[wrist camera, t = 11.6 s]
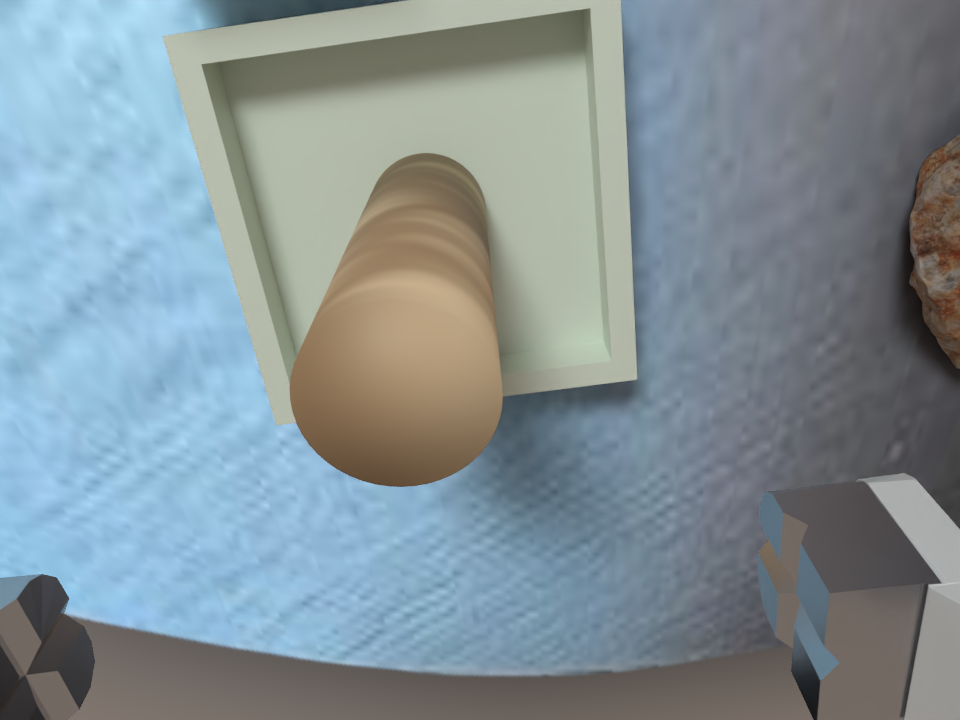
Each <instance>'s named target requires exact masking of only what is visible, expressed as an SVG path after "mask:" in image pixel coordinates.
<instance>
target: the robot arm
mask: <svg viewBox="0 0 960 720" xmlns="http://www.w3.org/2000/svg"><path fill="white" fill-rule="evenodd" d="M759 521H760V523H761V525H762V527H763V529H764V531H765V533H766V535H767V537H768V539H769V540H768V541H767V542H766V544H765V545H764V546H763V547H762V548H761V549H760V551H759V552H758V578H759V585H760V591H761V597H762V602H763V605H764V608H765V611H766V614H767V618H768V620H769V622H770V625H771V627H772V629H773V632H774V634H775V636H776V638H778V639H779V640H781V641H782V642H783V643H785V644H786V645H788V646H789V647H791V648H793V652H792V668H791V672H792V674H793V676H794V678H795V680H796V682H797V685H798V687H799V689H800V691H801V693H802V695H803V698H804V700H805V702H806V704H807V706H808V709H809V711H810V713H811V715H812V717H813V719H814V720H960V529H959V528H958V527H957V525H956V524H955V523H954V522H953V521H952V520H951V519H950V518H949V516H948V515H947V514H946V513H945V512H944V511H943V510H942V508H941V507H940V506H939V505H938V504H937V503H936V502H935V501H934V499H933V498H932V497H931V496H930V495H929V494H928V493H927V491H926V490H925V489H924V488H923V487H922V486H921V485H920V483H919V482H918V481H917V480H916V479H915V478H914V477H912V476H910V475H907V474H905V473H901V474H894V475H887V476H879V477H872V478H865V479H858V480H857V481H851V482H843V483H834V484H826V485H818V486H809V487H801V488H793V489H784V490H776V491H768V492H764V493H763V496H762V499H761V502H760V518H759ZM68 601H69V597H68V596H67V594H66V592H65V591H64V589H63V587H62V586H61V584H60V582H59V580H58V579H57V578H56V577H52V576H48V575H44V574H38V575H27V576H16V577H5V578H0V720H68V719H69V718H70V717H71V716H72V715H73V714H74V713H76V712H77V711H78V710H79V709H80V707H81V705H82V703H83V701H84V699H85V697H86V695H87V693H88V691H89V689H90V687H91V681H92V676H93V669H94V663H95V660H94V654H93V647H92V642H91V640H90V638H89V636H88V634H87V632H86V630H85V628H84V626H82V625H81V624H79V623H78V622H76V621H75V620H73V619H71V618H70V617H68V616H67V615H65V614H64V612H65V609H66V606H67V603H68Z"/></svg>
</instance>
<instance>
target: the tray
mask: <svg viewBox="0 0 960 720" xmlns="http://www.w3.org/2000/svg"><path fill="white" fill-rule="evenodd" d="M163 40H164V43H165V46H166V50H167V53H168V57H169V60H170V63H171V67H172V70H173V74H174V77H175V81H176V84H177V87H178V91H179V94H180V98H181V101H182V105H183V108H184V111H185V115H186V118H187V122H188V125H189V128H190V132H191V135H192V139H193V142H194V146H195V149H196V152H197V156H198V159H199V163H200V166H201V169H202V173H203V176H204V180H205V183H206V187H207V190H208V193H209V197H210V200H211V204H212V207H213V210H214V214H215V217H216V221H217V224H218V228H219V231H220V234H221V238H222V241H223V245H224V248H225V251H226V255H227V258H228V262H229V265H230V269H231V272H232V275H233V279H234V282H235V286H236V289H237V292H238V296H239V299H240V303H241V306H242V310H243V313H244V316H245V320H246V323H247V327H248V330H249V333H250V337H251V340H252V344H253V347H254V351H255V354H256V357H257V361H258V364H259V368H260V371H261V374H262V378H263V381H264V385H265V388H266V392H267V395H268V398H269V402H270V405H271V409H272V412H273V415H274V419H275V422H276V425H282V424H290V423H296V420H295V418H294V415H293V412H292V407H291V402H290V378H291V373H292V369H293V365H294V362H295V360H296V357H297V355H298V353H299V351H300V348H301V346H302V344H303V342H304V340H305V337H306V335H307V333H308V331H309V329H310V326H311V324H312V322H313V320H314V318H315V315H316V313H317V311H318V309H319V307H320V305H321V302H322V300H323V298H324V296H325V294H326V291H327V289H328V287H329V285H330V283H331V280H332V278H333V276H334V274H335V272H336V269H337V267H338V265H339V263H340V261H341V259H342V256H343V254H344V252H345V250H346V248H347V245H348V243H349V241H350V239H351V237H352V234H353V232H354V230H355V228H356V226H357V223H358V221H359V219H360V217H361V215H362V212H363V210H364V208H365V206H366V204H367V202H368V199H369V197H370V195H371V193H372V191H373V188H374V186H375V184H376V182H377V180H378V179H379V177H380V176H381V175H382V173H383V172H384V171H385V170H386V169H387V168H388V167H389V166H390V165H392V164H393V163H395V162H396V161H398V160H400V159H402V158H404V157H407V156H409V155H413V154H418V153H434V154H439V155H443V156H446V157H449V158H451V159H453V160H455V161H457V162H458V163H460V164H461V165H463V166H464V167H465V168H466V169H467V170H468V171H469V172H470V173H471V174H472V175H473V176H474V178H475V179H476V181H477V182H478V184H479V186H480V188H481V190H482V193H483V196H484V201H485V209H486V219H487V230H488V241H489V251H490V262H491V273H492V283H493V294H494V305H495V315H496V326H497V337H498V347H499V358H500V369H501V380H502V393H503V397H504V396H512V395H519V394H527V393H535V392H543V391H551V390H559V389H567V388H575V387H583V386H591V385H599V384H607V383H615V382H622V381H630V380H637V363H636V340H635V317H634V294H633V271H632V248H631V225H630V202H629V179H628V156H627V133H626V110H625V87H624V64H623V41H622V18H621V0H403V1H396V2H389V3H382V4H375V5H368V6H362V7H355V8H348V9H341V10H334V11H327V12H320V13H314V14H307V15H300V16H293V17H286V18H279V19H273V20H266V21H259V22H252V23H245V24H238V25H231V26H225V27H218V28H211V29H204V30H197V31H190V32H185V33H179V34H173V35H167V36H163Z"/></svg>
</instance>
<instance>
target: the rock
mask: <svg viewBox="0 0 960 720" xmlns="http://www.w3.org/2000/svg"><path fill="white" fill-rule="evenodd" d="M916 194H917V195H916V201H915V205H914V207H913V210H912V212H911V215H910V221H909V233H910V239H911V245H910V251H911V253H912V255H913V258H914V261H915V263H914V267H913V271H912V273H911V276H910V281H909V283H910V285H911V286H912V287H913V288H915V289H916V292H917V294H918V296H919V298H920V299H921V301H922V312H923V318H924V322H925V323H926V324H927V326H928V327H929V328H930V330H931V332H932V333H933V334H934V335H935V336H936V339H937V341H938V344H939V345H940V346H941V348H942V350H943V351H944V352H945V353H946V354H947V355H948V357H949V358H950V359H951V362H952V363H953V364H954V366H955V367H956V368H960V134H959V135H958V136H957V137H955V138H954V139H953V140H951V141H950V142H948V143H947V144H945V145H943V146H942V147H940V148H938V149H936V150H935V151H933V152H932V153H931V154H930V155H929V156H928V157H927V158H926V160H925V161H924V163H923V164H922V166H921V169H920V172H919V180H918V183H917V186H916Z"/></svg>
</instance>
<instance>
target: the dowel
mask: <svg viewBox="0 0 960 720" xmlns="http://www.w3.org/2000/svg"><path fill="white" fill-rule="evenodd" d="M290 402H291V407H292V412H293V415H294V418H295V420H296V423H297V425H298V427H299V429H300V431H301V433H302V435H303V436H304V438H305V439H306V441H307V442H308V443H309V445H310V446H311V447H312V448H313V449H314V450H315V451H316V453H317V454H318V455H319V456H321V457H322V458H323V459H324V460H325V461H326V462H328V463H329V464H331V465H332V466H333V467H335V468H336V469H338V470H340V471H342V472H343V473H345V474H347V475H349V476H352V477H354V478H357V479H359V480H362V481H365V482H369V483H373V484H378V485H384V486H397V487H405V486H417V485H422V484H428V483H431V482H435V481H438V480H441V479H443V478H446V477H448V476H450V475H452V474H454V473H456V472H458V471H459V470H461V469H463V468H464V467H465V466H467V465H468V464H469V463H471V462H472V461H473V460H474V459H475V458H476V457H477V456H478V455H479V454H480V453H481V452H482V451H483V450H484V448H485V447H486V446H487V445H488V443H489V441H490V440H491V438H492V436H493V435H494V433H495V430H496V428H497V425H498V423H499V420H500V415H501V411H502V402H503V393H502V380H501V369H500V358H499V347H498V337H497V326H496V315H495V305H494V294H493V283H492V273H491V262H490V251H489V241H488V230H487V219H486V209H485V201H484V196H483V193H482V190H481V188H480V186H479V184H478V182H477V181H476V179H475V178H474V176H473V175H472V174H471V173H470V172H469V171H468V170H467V169H466V168H465V167H464V166H463V165H461V164H460V163H458V162H457V161H455V160H453V159H451V158H449V157H446V156H443V155H439V154H434V153H418V154H413V155H409V156H407V157H404V158H402V159H400V160H398V161H396V162H395V163H393V164H392V165H390V166H389V167H388V168H387V169H386V170H385V171H384V172H383V173H382V175H381V176H380V177H379V179H378V180H377V182H376V184H375V186H374V188H373V191H372V193H371V195H370V197H369V199H368V202H367V204H366V206H365V208H364V210H363V212H362V215H361V217H360V219H359V221H358V223H357V226H356V228H355V230H354V232H353V234H352V237H351V239H350V241H349V243H348V245H347V248H346V250H345V252H344V254H343V256H342V259H341V261H340V263H339V265H338V267H337V269H336V272H335V274H334V276H333V278H332V280H331V283H330V285H329V287H328V289H327V291H326V294H325V296H324V298H323V300H322V302H321V305H320V307H319V309H318V311H317V313H316V315H315V318H314V320H313V322H312V324H311V326H310V329H309V331H308V333H307V335H306V337H305V340H304V342H303V344H302V346H301V348H300V351H299V353H298V355H297V357H296V360H295V362H294V365H293V369H292V373H291V378H290Z"/></svg>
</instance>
